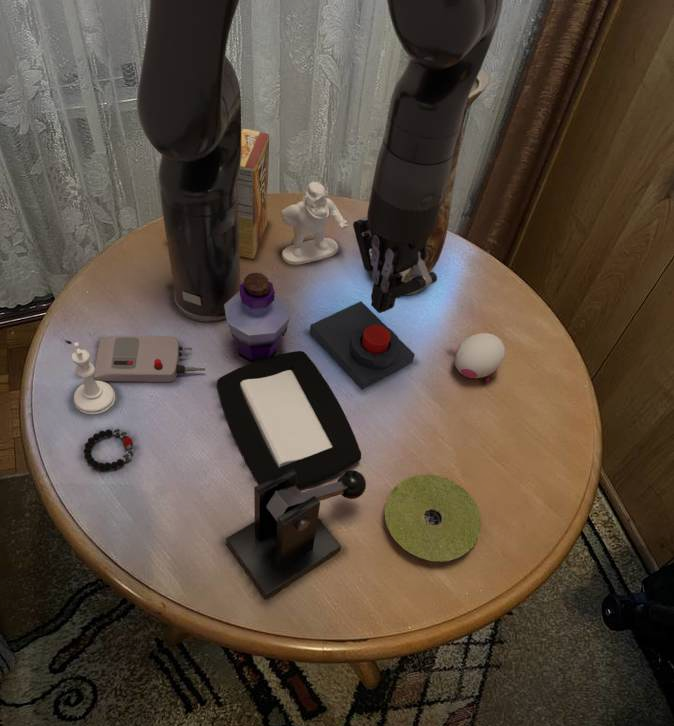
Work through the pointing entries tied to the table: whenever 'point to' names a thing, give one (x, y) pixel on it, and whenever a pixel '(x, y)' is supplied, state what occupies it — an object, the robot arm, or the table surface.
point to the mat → (432, 517)
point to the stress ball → (479, 355)
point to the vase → (448, 191)
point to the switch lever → (317, 493)
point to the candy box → (252, 191)
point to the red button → (376, 339)
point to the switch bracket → (282, 539)
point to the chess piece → (90, 386)
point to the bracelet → (107, 466)
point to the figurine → (311, 226)
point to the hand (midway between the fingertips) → (380, 307)
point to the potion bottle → (257, 318)
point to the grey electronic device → (139, 359)
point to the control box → (359, 345)
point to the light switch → (287, 419)
